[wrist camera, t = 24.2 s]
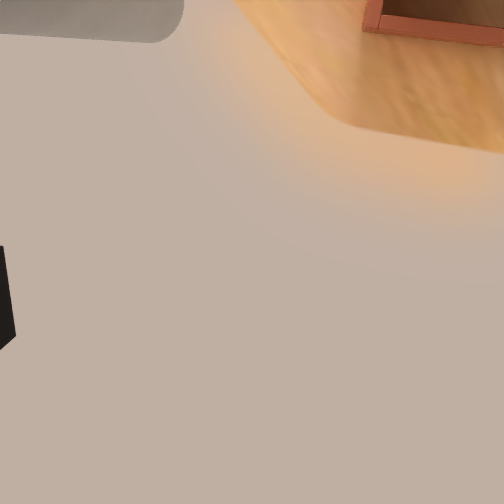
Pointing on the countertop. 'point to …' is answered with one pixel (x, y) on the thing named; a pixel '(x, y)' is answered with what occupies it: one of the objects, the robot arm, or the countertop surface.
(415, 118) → the countertop surface
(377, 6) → the crate
